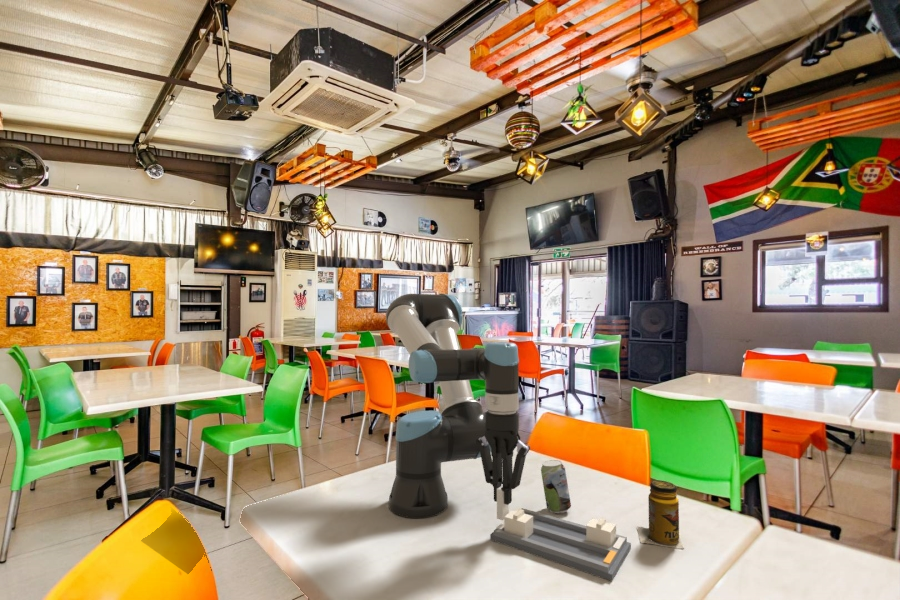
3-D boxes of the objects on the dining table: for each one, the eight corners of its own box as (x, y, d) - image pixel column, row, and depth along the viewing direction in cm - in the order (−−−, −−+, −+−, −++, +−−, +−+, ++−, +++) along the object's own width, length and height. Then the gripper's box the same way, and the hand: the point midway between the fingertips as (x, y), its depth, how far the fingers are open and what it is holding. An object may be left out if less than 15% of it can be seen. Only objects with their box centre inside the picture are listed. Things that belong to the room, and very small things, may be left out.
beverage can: (571, 517, 109) (571, 467, 109) (541, 514, 110) (540, 465, 111) (570, 506, 115) (569, 459, 115) (541, 503, 116) (540, 457, 117)
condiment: (683, 549, 94) (683, 491, 94) (640, 543, 96) (639, 487, 97) (677, 533, 101) (676, 479, 101) (637, 527, 103) (636, 475, 104)
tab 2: (586, 542, 94) (586, 521, 94) (592, 535, 97) (592, 514, 97) (610, 550, 91) (610, 528, 91) (616, 542, 94) (616, 520, 94)
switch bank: (490, 539, 98) (490, 528, 98) (519, 516, 109) (519, 506, 109) (612, 581, 83) (612, 568, 83) (630, 548, 94) (630, 537, 94)
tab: (504, 533, 98) (504, 513, 98) (512, 526, 101) (512, 506, 101) (525, 540, 95) (525, 519, 95) (533, 532, 98) (533, 512, 98)
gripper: (468, 410, 102) (469, 515, 101) (520, 417, 94) (521, 531, 93) (485, 405, 108) (486, 504, 107) (535, 411, 100) (536, 518, 99)
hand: (502, 517), depth 100 cm, fingers closed
